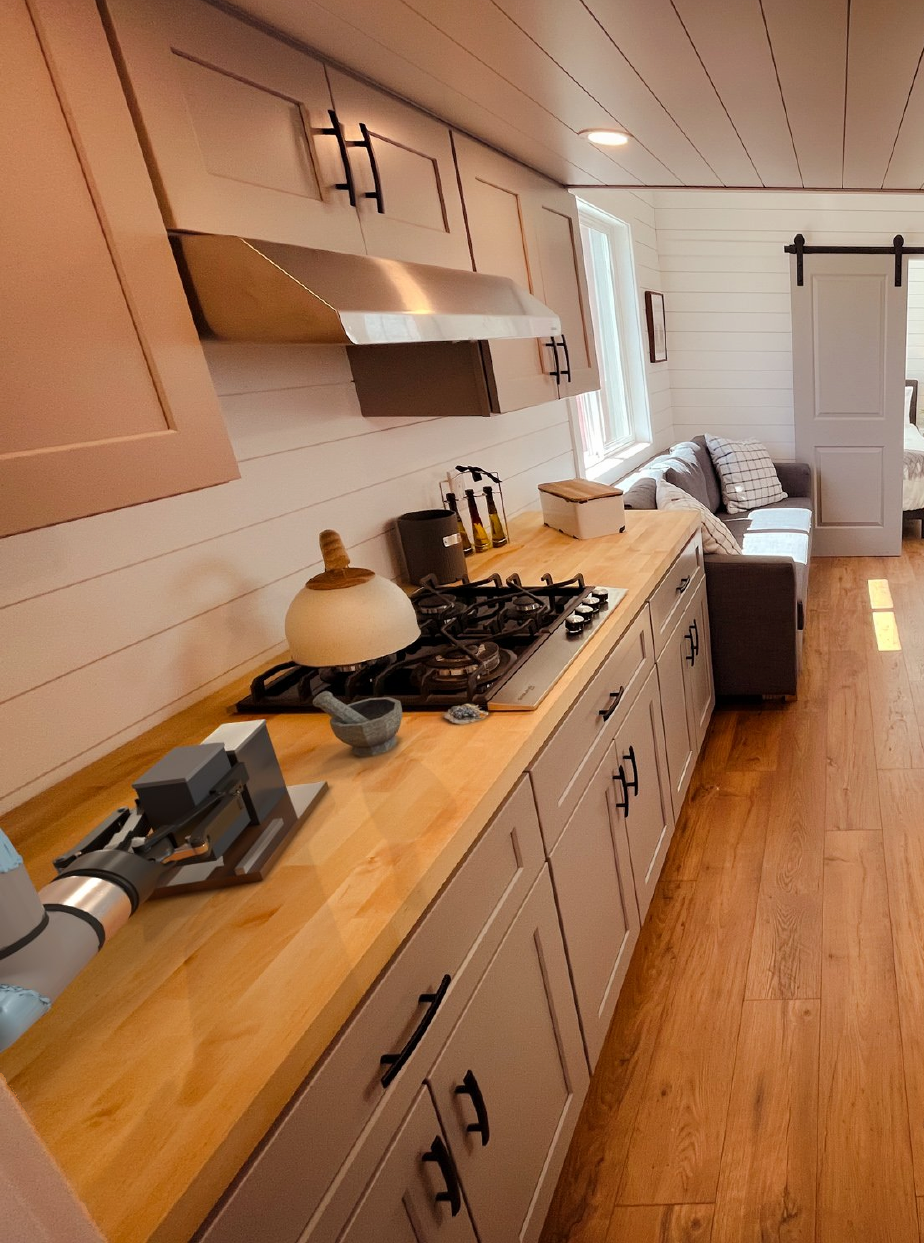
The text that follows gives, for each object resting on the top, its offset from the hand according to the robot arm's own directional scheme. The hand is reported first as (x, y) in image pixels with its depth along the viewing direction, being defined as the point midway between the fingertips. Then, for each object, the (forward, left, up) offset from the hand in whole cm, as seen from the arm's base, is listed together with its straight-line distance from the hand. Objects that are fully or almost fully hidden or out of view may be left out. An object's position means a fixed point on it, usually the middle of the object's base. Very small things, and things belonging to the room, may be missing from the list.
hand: (217, 774), depth 91 cm
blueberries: (+22, +29, -11) cm, 38 cm away
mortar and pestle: (+9, +21, -11) cm, 25 cm away
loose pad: (0, -5, -7) cm, 9 cm away
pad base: (0, 0, -10) cm, 10 cm away
